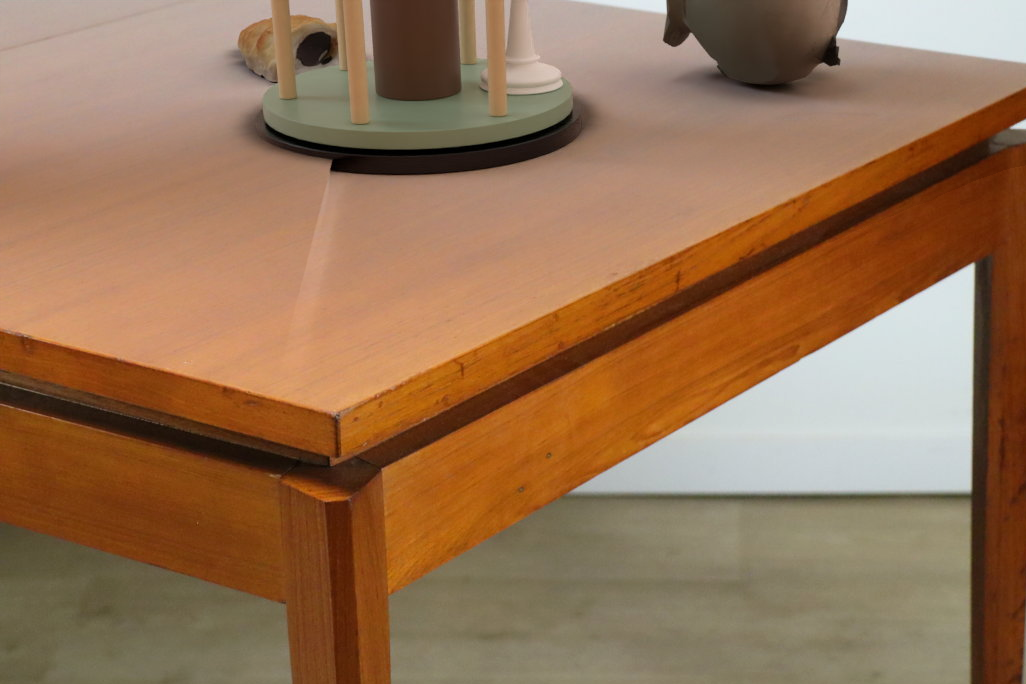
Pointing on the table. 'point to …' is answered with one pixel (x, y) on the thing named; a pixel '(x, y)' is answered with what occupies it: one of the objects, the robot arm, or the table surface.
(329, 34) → the pastry
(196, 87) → the table surface
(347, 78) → the rack
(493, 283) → the table surface
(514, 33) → the chess piece
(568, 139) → the rack base
